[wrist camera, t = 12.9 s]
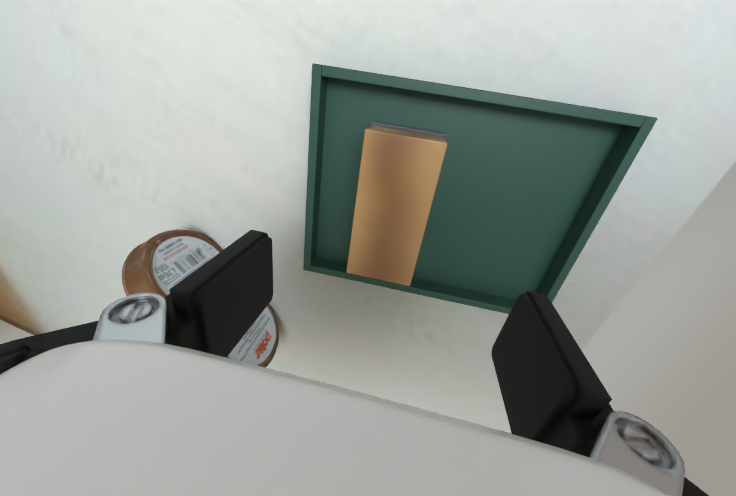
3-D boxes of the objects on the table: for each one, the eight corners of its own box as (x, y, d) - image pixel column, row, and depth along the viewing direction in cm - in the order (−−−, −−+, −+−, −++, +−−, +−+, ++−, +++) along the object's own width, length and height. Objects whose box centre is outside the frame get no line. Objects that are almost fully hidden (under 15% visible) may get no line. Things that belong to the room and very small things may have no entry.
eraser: (445, 132, 19) (452, 139, 15) (413, 257, 24) (412, 289, 20) (373, 119, 20) (361, 124, 15) (356, 245, 24) (343, 274, 20)
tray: (633, 116, 18) (658, 117, 16) (532, 305, 25) (541, 321, 23) (322, 67, 19) (312, 63, 17) (311, 258, 26) (303, 269, 24)
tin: (177, 226, 27) (86, 272, 20) (197, 211, 26) (109, 254, 19) (274, 336, 32) (230, 406, 24) (295, 327, 31) (256, 398, 23)
